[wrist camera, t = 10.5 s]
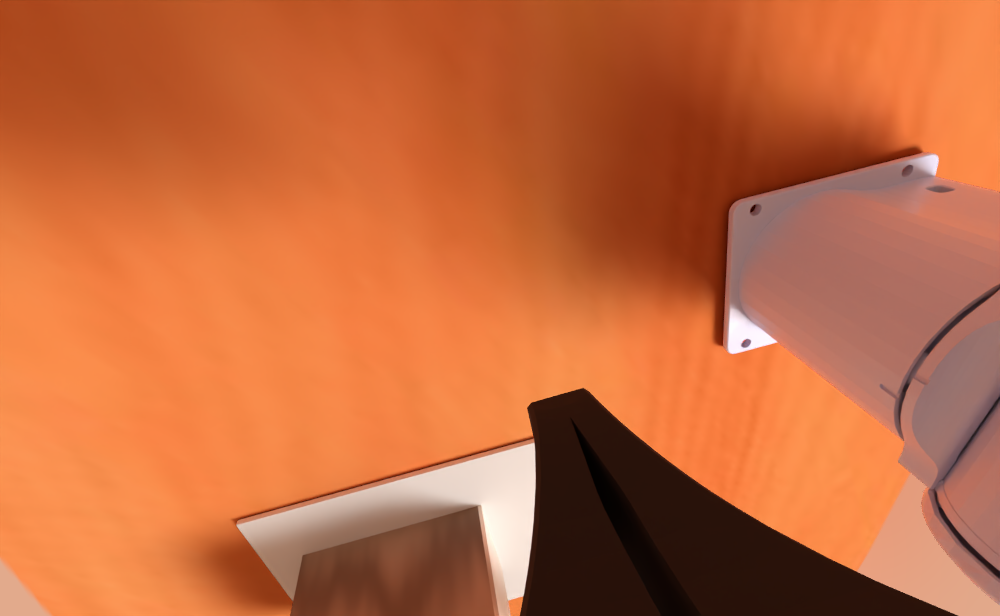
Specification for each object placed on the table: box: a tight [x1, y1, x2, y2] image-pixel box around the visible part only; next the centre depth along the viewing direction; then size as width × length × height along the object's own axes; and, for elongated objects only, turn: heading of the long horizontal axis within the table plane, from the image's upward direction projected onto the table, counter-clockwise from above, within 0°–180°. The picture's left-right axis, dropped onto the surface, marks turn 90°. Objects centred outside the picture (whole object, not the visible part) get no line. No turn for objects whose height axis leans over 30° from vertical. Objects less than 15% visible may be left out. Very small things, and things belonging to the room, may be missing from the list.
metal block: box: [290, 505, 511, 616], centre depth 25 cm, size 6×6×10 cm
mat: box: [236, 439, 536, 601], centre depth 28 cm, size 19×13×1 cm
